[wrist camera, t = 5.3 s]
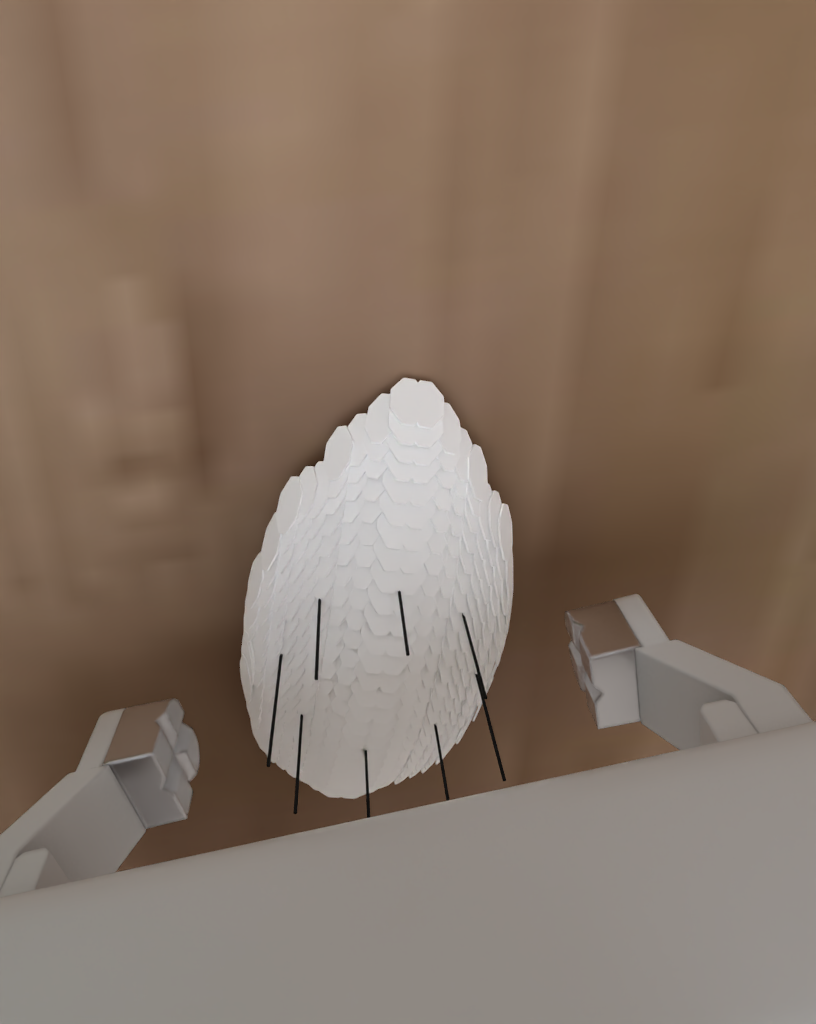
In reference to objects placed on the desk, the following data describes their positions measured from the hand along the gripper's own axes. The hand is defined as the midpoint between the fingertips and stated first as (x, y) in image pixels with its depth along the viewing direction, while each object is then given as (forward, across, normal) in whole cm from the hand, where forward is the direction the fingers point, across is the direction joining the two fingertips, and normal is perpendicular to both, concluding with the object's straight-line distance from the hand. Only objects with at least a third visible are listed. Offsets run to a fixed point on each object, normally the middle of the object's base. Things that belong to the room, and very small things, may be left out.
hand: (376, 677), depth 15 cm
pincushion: (+4, 0, +1) cm, 4 cm away
